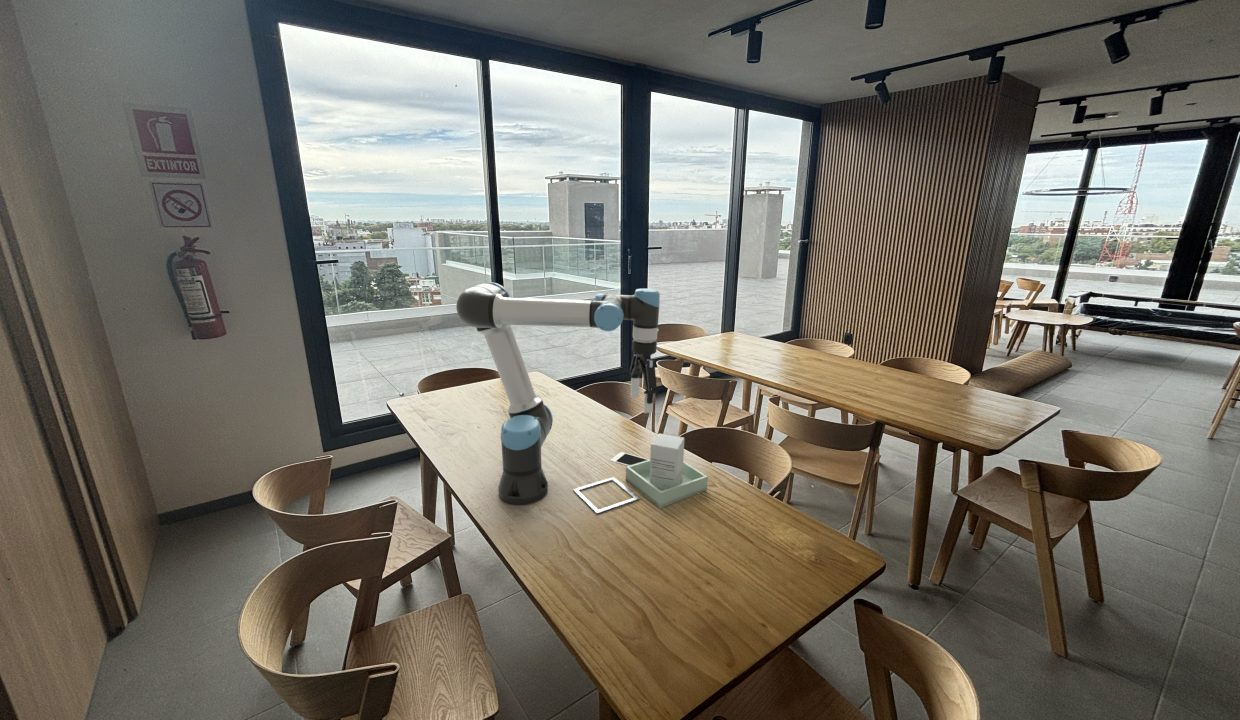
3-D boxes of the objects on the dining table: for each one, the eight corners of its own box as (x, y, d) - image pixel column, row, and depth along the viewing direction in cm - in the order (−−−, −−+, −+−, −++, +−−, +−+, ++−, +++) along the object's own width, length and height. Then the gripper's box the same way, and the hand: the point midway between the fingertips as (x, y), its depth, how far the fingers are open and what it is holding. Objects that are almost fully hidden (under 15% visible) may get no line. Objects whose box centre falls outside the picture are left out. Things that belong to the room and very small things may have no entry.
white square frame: (597, 514, 142) (597, 513, 142) (573, 490, 154) (573, 489, 154) (639, 499, 150) (639, 498, 150) (613, 478, 162) (613, 476, 162)
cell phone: (620, 453, 180) (620, 451, 180) (660, 464, 173) (660, 462, 172) (610, 461, 174) (610, 460, 174) (650, 473, 166) (650, 472, 166)
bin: (660, 508, 146) (660, 493, 144) (625, 480, 161) (626, 466, 159) (706, 490, 156) (707, 476, 154) (670, 466, 171) (671, 453, 169)
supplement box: (656, 473, 163) (658, 432, 159) (682, 479, 160) (685, 437, 156) (648, 487, 155) (649, 443, 151) (675, 492, 152) (678, 449, 148)
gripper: (671, 350, 140) (666, 418, 146) (643, 330, 163) (639, 390, 169) (646, 351, 138) (642, 420, 144) (621, 330, 161) (618, 391, 167)
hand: (640, 404), depth 157 cm, fingers open, 13 cm apart
